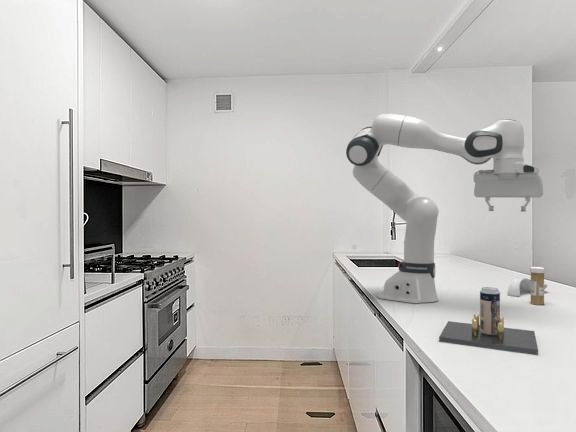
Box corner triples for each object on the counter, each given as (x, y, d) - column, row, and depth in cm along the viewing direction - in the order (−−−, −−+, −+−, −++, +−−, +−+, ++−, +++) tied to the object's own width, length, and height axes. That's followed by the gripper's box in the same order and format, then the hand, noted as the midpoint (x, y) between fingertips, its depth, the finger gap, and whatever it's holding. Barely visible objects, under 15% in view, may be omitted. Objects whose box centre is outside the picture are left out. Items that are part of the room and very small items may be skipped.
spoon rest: (522, 288, 190) (522, 272, 190) (551, 292, 181) (551, 275, 181) (498, 294, 174) (499, 277, 174) (529, 299, 165) (530, 281, 165)
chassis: (439, 341, 110) (439, 321, 110) (448, 325, 126) (448, 307, 126) (538, 354, 100) (538, 332, 99) (534, 335, 115) (534, 316, 115)
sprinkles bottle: (545, 305, 153) (546, 268, 153) (531, 304, 154) (531, 267, 154) (542, 303, 157) (542, 266, 157) (528, 302, 159) (528, 266, 159)
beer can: (498, 337, 109) (498, 290, 109) (478, 334, 112) (478, 288, 112) (501, 333, 113) (501, 288, 113) (481, 330, 116) (481, 286, 116)
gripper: (472, 169, 142) (471, 210, 142) (544, 167, 132) (543, 211, 132) (474, 171, 148) (473, 211, 148) (543, 169, 138) (542, 212, 138)
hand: (506, 211), depth 140 cm, fingers open, 8 cm apart
